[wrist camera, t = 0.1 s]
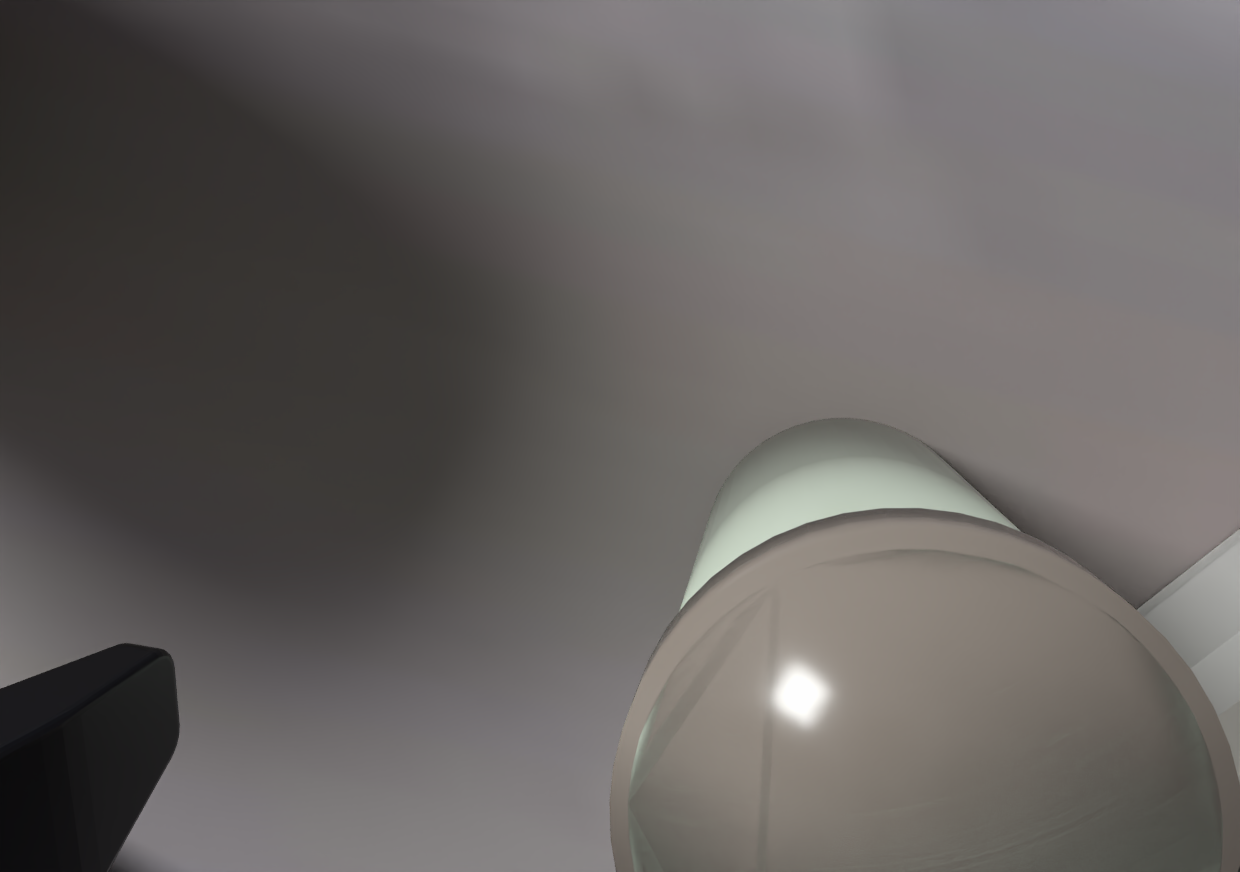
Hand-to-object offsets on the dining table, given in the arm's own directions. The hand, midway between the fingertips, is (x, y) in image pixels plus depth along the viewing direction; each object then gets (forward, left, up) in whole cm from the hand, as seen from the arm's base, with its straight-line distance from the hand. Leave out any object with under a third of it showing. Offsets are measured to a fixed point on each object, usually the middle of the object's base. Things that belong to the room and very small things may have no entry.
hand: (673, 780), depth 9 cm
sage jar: (+1, -3, -15) cm, 16 cm away
